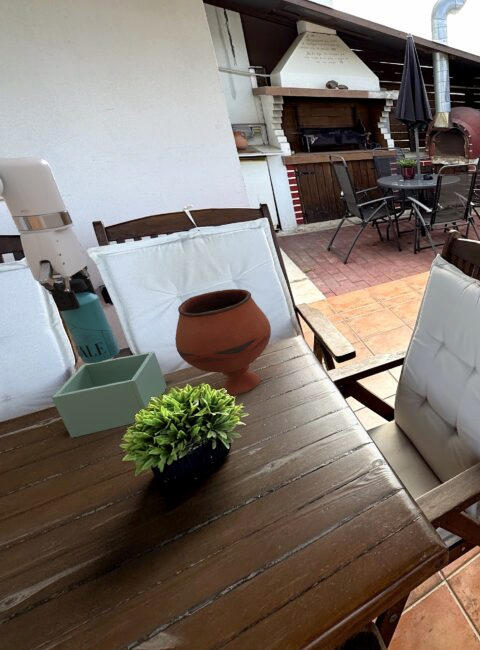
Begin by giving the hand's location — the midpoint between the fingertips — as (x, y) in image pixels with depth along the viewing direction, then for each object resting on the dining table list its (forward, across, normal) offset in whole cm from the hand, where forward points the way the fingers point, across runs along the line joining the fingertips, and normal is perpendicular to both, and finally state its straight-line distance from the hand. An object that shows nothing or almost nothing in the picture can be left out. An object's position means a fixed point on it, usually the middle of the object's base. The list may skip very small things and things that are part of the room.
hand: (78, 302), depth 86 cm
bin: (+29, 0, 0) cm, 29 cm away
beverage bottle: (+15, 0, 0) cm, 15 cm away
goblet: (+29, +1, +24) cm, 37 cm away
